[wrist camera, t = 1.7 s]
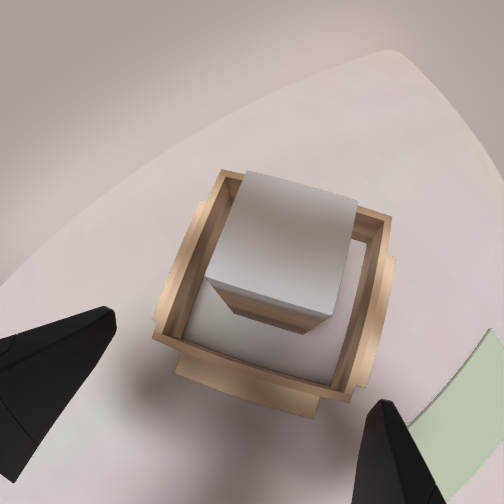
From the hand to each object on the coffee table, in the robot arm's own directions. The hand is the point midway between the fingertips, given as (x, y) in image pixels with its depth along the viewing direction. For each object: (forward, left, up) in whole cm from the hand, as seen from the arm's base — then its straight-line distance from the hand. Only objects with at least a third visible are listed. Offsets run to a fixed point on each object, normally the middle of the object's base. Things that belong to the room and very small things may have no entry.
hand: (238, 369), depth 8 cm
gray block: (+5, +1, -12) cm, 13 cm away
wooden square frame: (+5, +1, -12) cm, 13 cm away
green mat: (+3, -19, -12) cm, 22 cm away
